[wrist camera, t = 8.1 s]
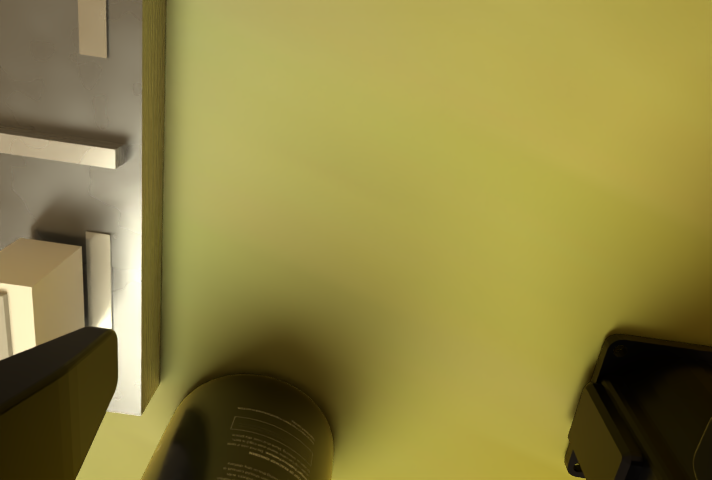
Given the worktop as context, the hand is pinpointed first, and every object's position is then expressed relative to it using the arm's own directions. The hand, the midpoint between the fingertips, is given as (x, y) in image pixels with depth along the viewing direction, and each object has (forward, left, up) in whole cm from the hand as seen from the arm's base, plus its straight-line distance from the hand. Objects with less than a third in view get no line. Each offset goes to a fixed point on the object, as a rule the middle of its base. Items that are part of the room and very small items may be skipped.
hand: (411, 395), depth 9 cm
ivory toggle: (+11, +5, -10) cm, 16 cm away
